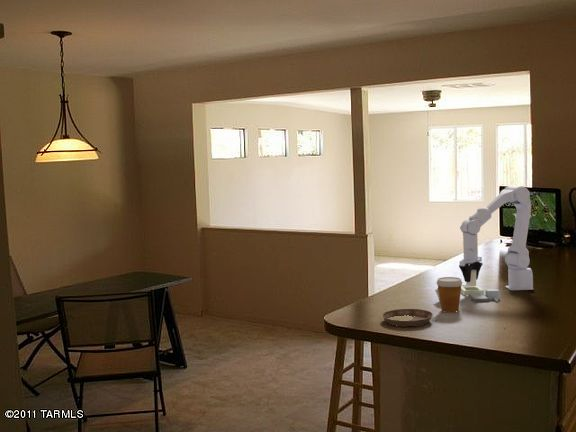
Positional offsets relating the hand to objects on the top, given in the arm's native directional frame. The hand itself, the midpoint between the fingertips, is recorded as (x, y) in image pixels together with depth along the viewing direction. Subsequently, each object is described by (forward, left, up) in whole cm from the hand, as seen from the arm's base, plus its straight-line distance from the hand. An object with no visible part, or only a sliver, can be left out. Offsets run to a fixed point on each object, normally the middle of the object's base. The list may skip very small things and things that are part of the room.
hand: (471, 280), depth 253 cm
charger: (0, 0, -2) cm, 2 cm away
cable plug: (-6, +13, -5) cm, 15 cm away
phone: (0, +11, -5) cm, 13 cm away
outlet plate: (0, -2, -5) cm, 6 cm away
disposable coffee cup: (+15, +28, -6) cm, 32 cm away
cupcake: (+13, +14, -6) cm, 20 cm away
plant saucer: (+33, +42, -6) cm, 54 cm away
